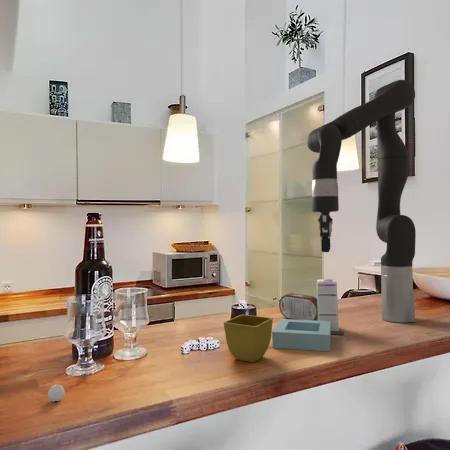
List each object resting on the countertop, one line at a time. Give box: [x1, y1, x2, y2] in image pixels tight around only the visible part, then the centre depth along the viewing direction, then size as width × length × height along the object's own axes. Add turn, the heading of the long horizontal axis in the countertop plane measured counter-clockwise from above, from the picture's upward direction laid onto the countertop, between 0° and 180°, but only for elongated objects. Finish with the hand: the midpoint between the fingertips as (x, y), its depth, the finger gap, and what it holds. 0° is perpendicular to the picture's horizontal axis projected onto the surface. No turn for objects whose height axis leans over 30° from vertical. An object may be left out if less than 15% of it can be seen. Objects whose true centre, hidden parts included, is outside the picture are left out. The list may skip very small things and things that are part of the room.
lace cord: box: [331, 330, 345, 336], centre depth 113 cm, size 19×1×1 cm, turn 74°
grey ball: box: [47, 384, 66, 403], centre depth 72 cm, size 3×3×3 cm
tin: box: [278, 292, 318, 321], centre depth 128 cm, size 15×3×8 cm, turn 47°
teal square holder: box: [271, 318, 332, 352], centre depth 106 cm, size 14×14×4 cm
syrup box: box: [316, 278, 340, 331], centre depth 116 cm, size 6×6×14 cm
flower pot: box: [223, 314, 274, 363], centre depth 93 cm, size 9×9×9 cm
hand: (326, 251), depth 116 cm, fingers open, 8 cm apart
